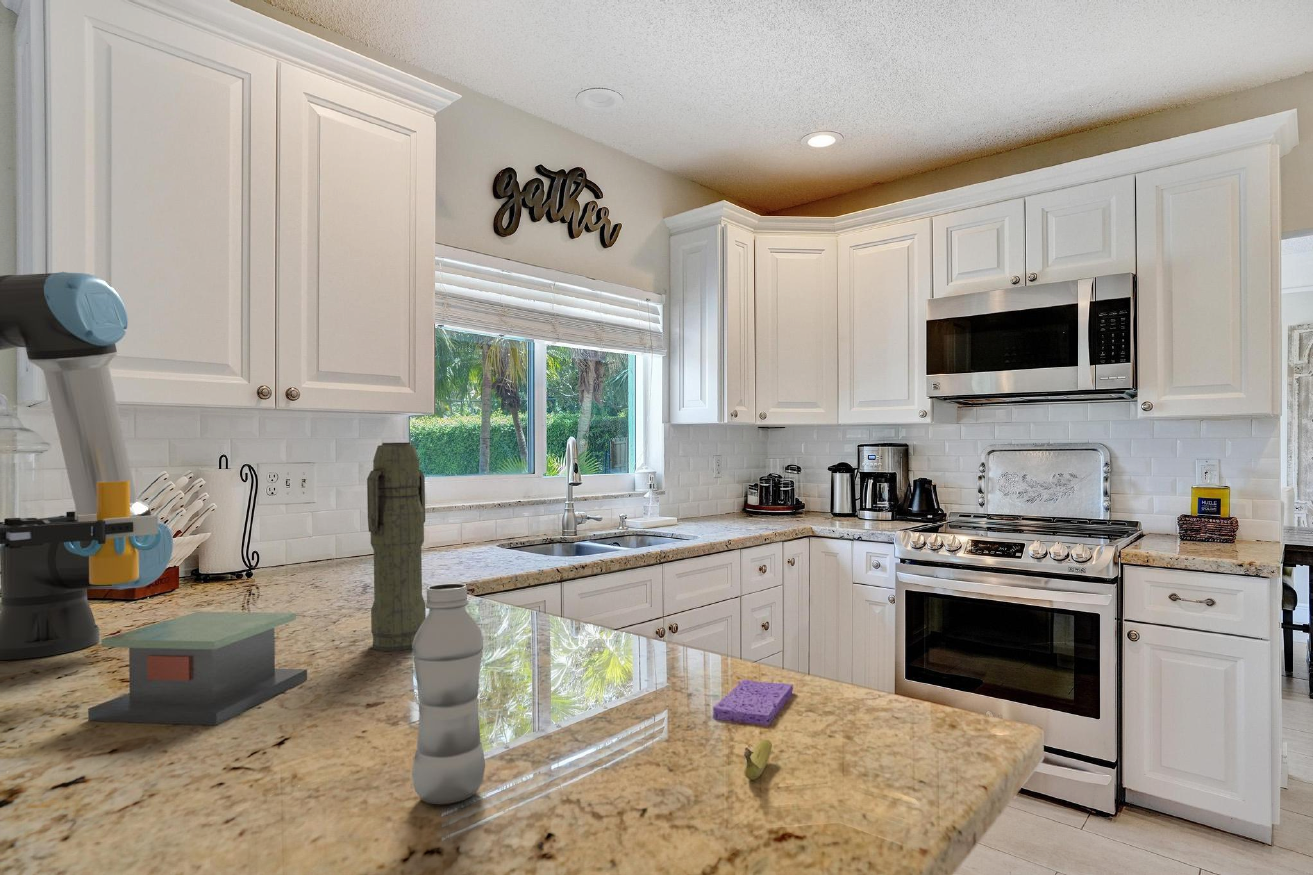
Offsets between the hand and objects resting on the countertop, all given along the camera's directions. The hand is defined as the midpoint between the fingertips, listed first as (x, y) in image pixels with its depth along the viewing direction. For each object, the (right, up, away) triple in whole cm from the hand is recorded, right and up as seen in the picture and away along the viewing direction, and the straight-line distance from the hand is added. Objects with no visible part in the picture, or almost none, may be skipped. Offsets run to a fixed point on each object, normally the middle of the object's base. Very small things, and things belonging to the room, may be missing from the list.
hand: (142, 522), depth 112 cm
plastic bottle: (+59, -21, -42) cm, 76 cm away
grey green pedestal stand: (+17, -23, -12) cm, 31 cm away
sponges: (+91, -22, -19) cm, 96 cm away
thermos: (+34, -23, +15) cm, 44 cm away
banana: (+89, -21, -39) cm, 99 cm away
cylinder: (-2, -9, -3) cm, 9 cm away
